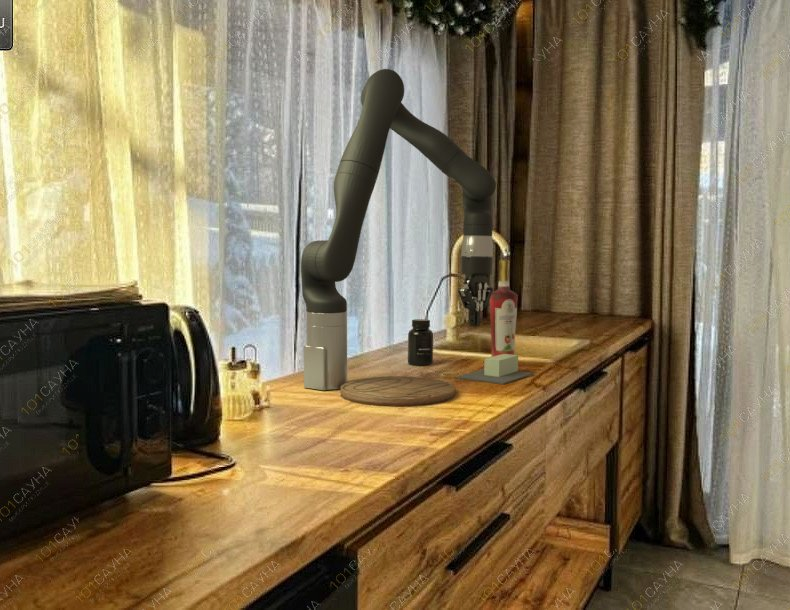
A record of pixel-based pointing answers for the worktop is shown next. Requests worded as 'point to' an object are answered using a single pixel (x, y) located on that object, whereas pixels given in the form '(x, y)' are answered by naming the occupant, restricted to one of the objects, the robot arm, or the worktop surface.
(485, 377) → the mat
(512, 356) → the block
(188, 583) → the worktop surface
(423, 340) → the supplement bottle
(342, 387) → the trivet
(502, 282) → the red sauce bottle
